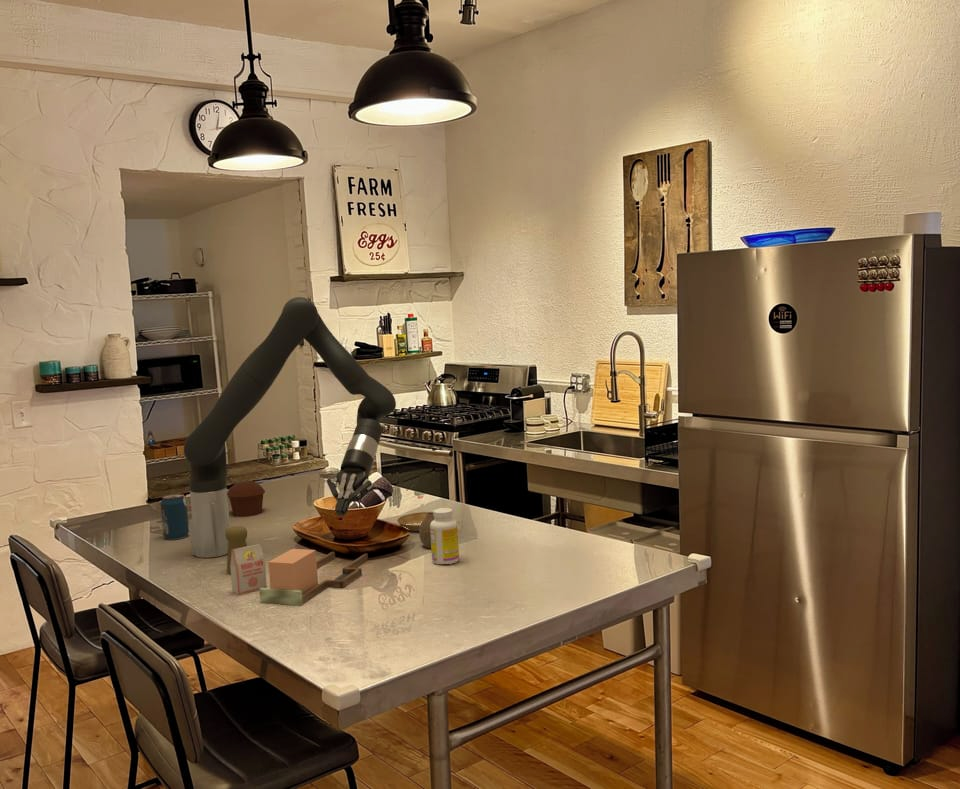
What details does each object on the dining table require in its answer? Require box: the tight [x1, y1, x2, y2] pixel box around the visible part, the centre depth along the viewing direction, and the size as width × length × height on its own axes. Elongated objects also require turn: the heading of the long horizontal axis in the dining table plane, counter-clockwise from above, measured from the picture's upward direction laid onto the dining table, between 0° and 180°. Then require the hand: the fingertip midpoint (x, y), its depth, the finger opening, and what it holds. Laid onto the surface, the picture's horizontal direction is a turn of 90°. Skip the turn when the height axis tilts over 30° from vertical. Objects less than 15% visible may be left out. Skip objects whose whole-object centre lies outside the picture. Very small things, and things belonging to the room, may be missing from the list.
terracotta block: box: [268, 548, 319, 595], centre depth 192 cm, size 6×10×9 cm, turn 161°
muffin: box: [227, 480, 266, 518], centre depth 271 cm, size 12×11×10 cm
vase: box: [418, 511, 435, 549], centre depth 225 cm, size 7×7×9 cm
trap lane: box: [258, 551, 369, 606], centre depth 202 cm, size 18×33×3 cm, turn 162°
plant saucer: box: [396, 511, 431, 532], centre depth 246 cm, size 15×15×3 cm
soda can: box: [160, 493, 190, 541], centre depth 246 cm, size 7×7×12 cm
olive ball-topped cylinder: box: [225, 525, 248, 575], centre depth 211 cm, size 6×6×11 cm
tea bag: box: [230, 543, 268, 596], centre depth 197 cm, size 4×7×10 cm, turn 126°
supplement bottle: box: [430, 507, 460, 565], centre depth 211 cm, size 7×7×13 cm
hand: (339, 514), depth 213 cm, fingers closed
